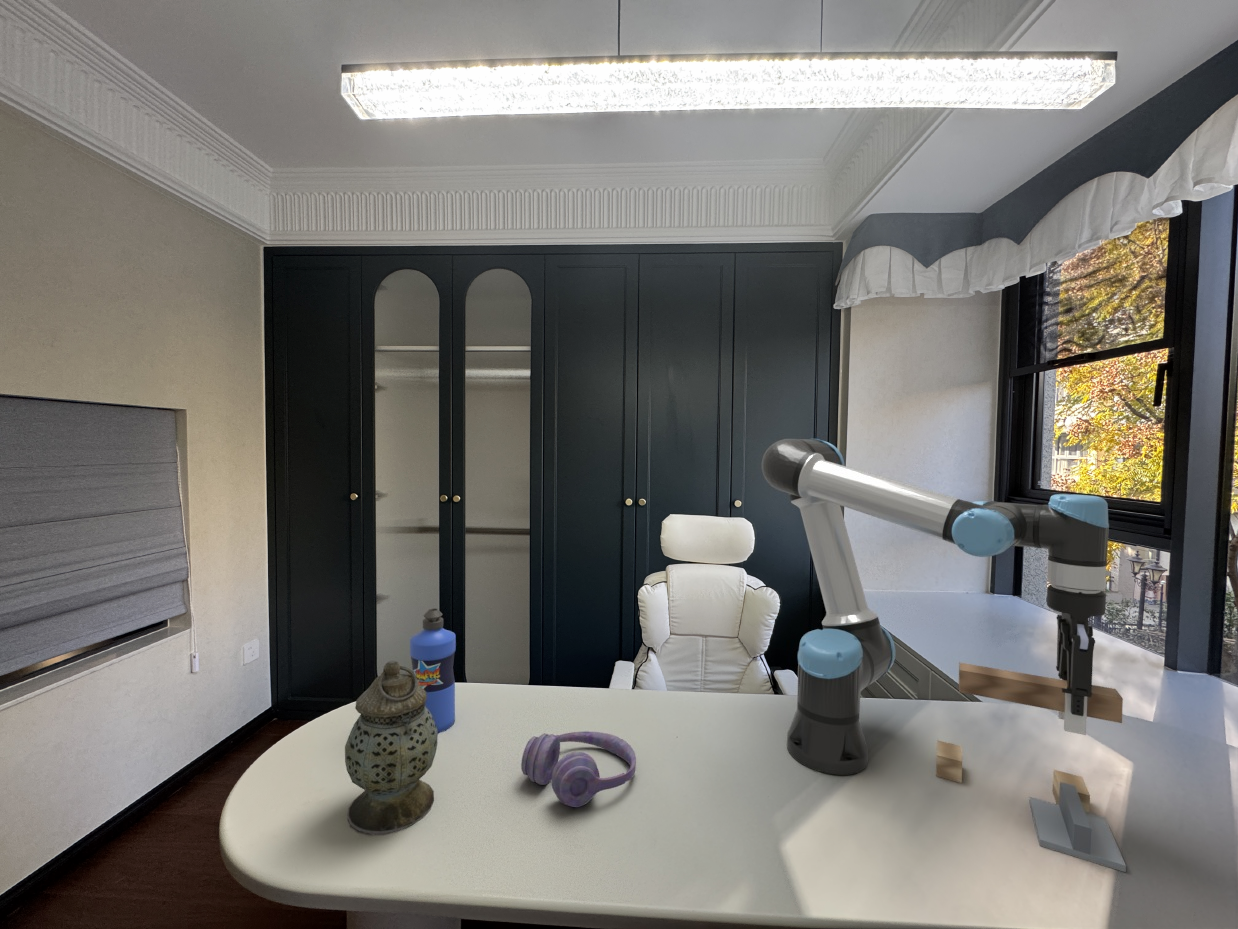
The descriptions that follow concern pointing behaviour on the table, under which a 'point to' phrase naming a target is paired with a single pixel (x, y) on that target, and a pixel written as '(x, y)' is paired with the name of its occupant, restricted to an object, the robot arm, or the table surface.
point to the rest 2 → (1071, 780)
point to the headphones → (574, 765)
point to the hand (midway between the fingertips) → (1071, 725)
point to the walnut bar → (1035, 691)
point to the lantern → (391, 754)
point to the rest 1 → (949, 761)
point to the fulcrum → (1075, 829)
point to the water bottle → (435, 668)
